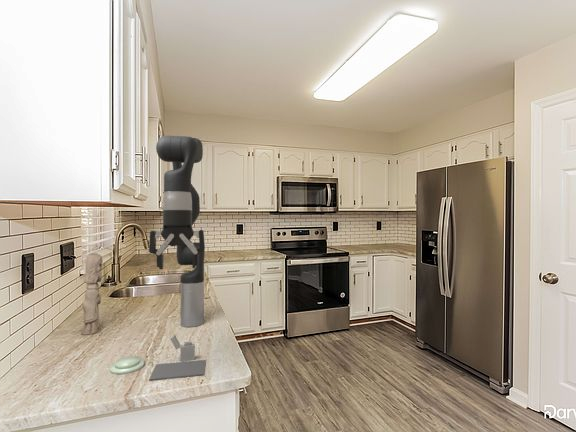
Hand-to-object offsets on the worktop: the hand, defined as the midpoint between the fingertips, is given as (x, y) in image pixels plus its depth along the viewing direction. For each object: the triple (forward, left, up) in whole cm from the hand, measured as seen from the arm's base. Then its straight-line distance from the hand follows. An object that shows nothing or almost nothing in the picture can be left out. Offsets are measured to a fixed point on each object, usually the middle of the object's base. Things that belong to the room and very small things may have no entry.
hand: (177, 268), depth 87 cm
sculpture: (-44, -37, -30) cm, 65 cm away
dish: (-9, -15, -29) cm, 34 cm away
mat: (-3, 0, -29) cm, 30 cm away
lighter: (-10, 0, -30) cm, 31 cm away
